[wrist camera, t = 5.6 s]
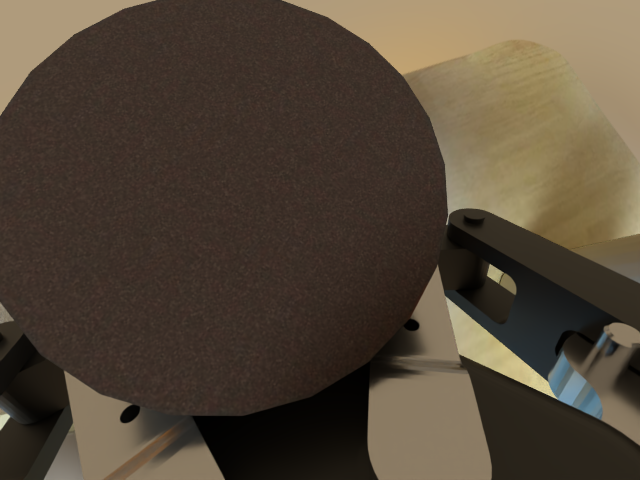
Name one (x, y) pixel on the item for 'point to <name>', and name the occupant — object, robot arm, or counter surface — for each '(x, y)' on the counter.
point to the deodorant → (216, 205)
